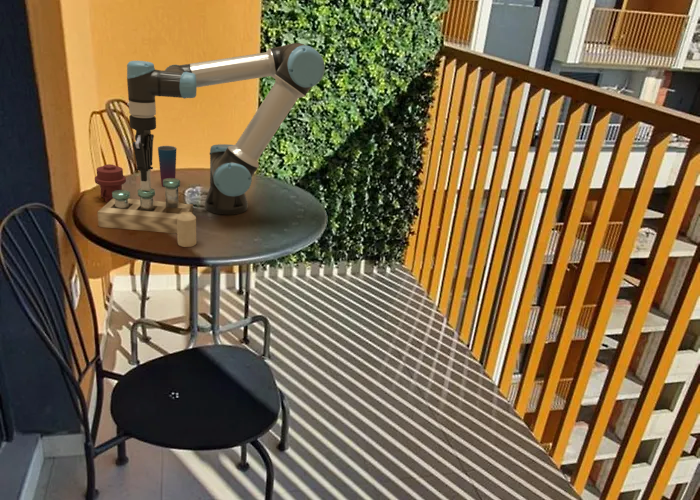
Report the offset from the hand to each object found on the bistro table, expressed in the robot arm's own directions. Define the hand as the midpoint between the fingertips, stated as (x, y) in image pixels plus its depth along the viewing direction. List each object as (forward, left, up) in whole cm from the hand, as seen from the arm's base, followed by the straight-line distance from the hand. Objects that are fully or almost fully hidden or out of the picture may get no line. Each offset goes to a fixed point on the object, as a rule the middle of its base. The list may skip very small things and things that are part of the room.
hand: (145, 189), depth 172 cm
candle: (-16, +14, -11) cm, 24 cm away
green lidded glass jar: (0, 0, -9) cm, 9 cm away
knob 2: (-8, 0, -5) cm, 9 cm away
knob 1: (+8, 0, -10) cm, 13 cm away
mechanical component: (+18, -18, -11) cm, 28 cm away
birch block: (0, 0, -11) cm, 11 cm away
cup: (+4, -39, -11) cm, 41 cm away
